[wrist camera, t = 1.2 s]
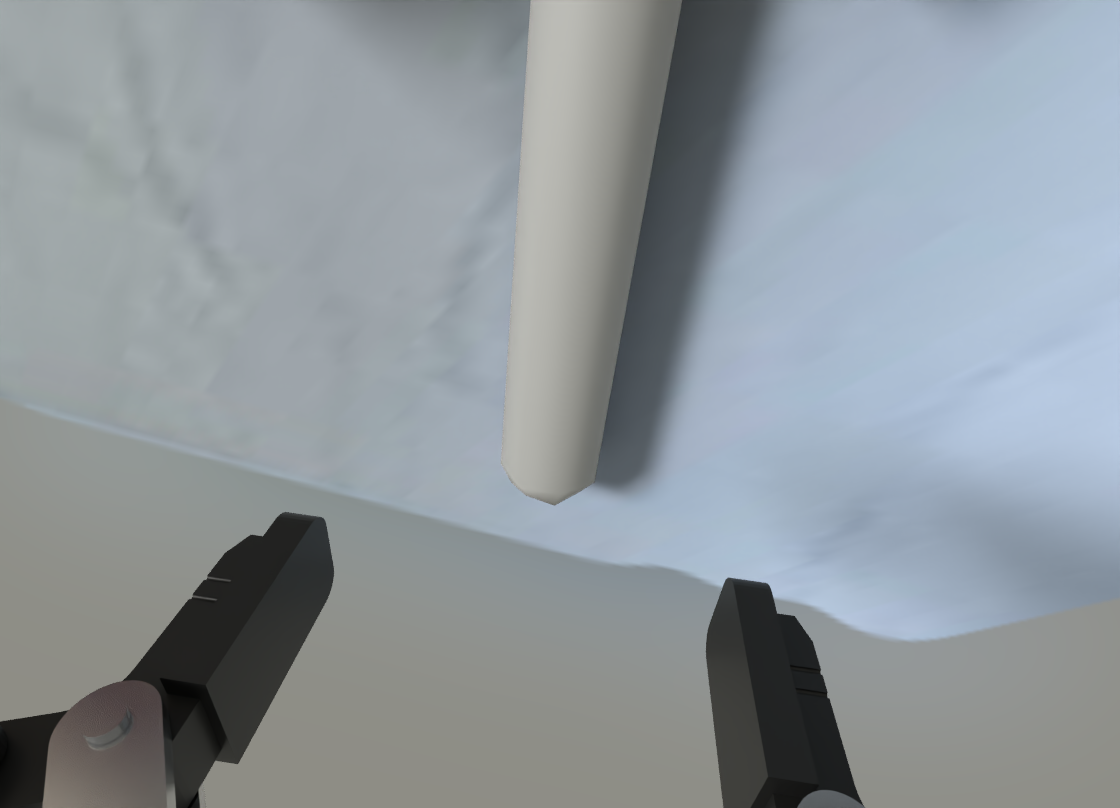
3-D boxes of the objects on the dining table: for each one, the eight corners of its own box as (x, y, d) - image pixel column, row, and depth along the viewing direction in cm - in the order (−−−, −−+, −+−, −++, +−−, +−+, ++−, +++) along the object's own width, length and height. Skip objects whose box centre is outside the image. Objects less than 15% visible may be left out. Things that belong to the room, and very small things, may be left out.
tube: (610, 520, 28) (762, -196, 15) (501, 529, 27) (556, -244, 14) (583, 451, 33) (682, -153, 19) (488, 456, 32) (519, -187, 18)
